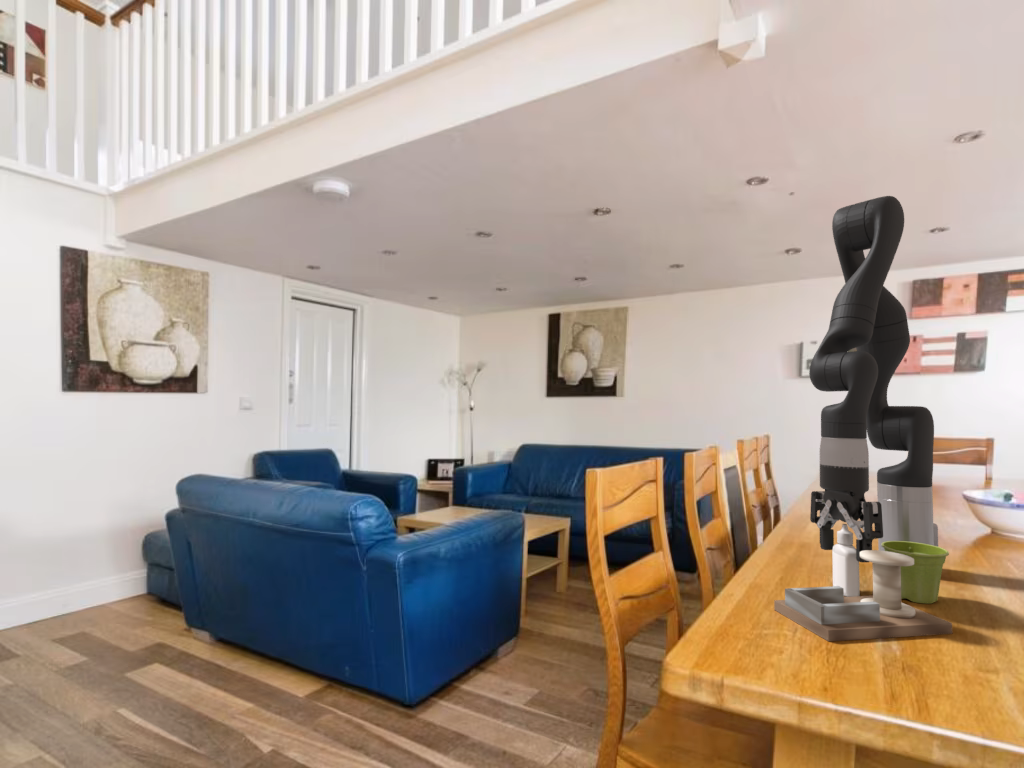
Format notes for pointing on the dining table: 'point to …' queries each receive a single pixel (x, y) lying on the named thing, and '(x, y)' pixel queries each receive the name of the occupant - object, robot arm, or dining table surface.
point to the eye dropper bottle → (845, 563)
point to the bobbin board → (862, 606)
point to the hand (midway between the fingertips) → (844, 555)
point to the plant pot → (919, 570)
